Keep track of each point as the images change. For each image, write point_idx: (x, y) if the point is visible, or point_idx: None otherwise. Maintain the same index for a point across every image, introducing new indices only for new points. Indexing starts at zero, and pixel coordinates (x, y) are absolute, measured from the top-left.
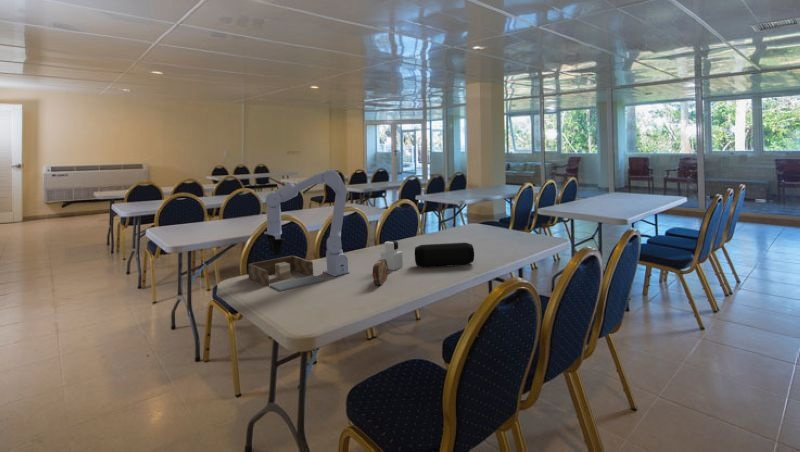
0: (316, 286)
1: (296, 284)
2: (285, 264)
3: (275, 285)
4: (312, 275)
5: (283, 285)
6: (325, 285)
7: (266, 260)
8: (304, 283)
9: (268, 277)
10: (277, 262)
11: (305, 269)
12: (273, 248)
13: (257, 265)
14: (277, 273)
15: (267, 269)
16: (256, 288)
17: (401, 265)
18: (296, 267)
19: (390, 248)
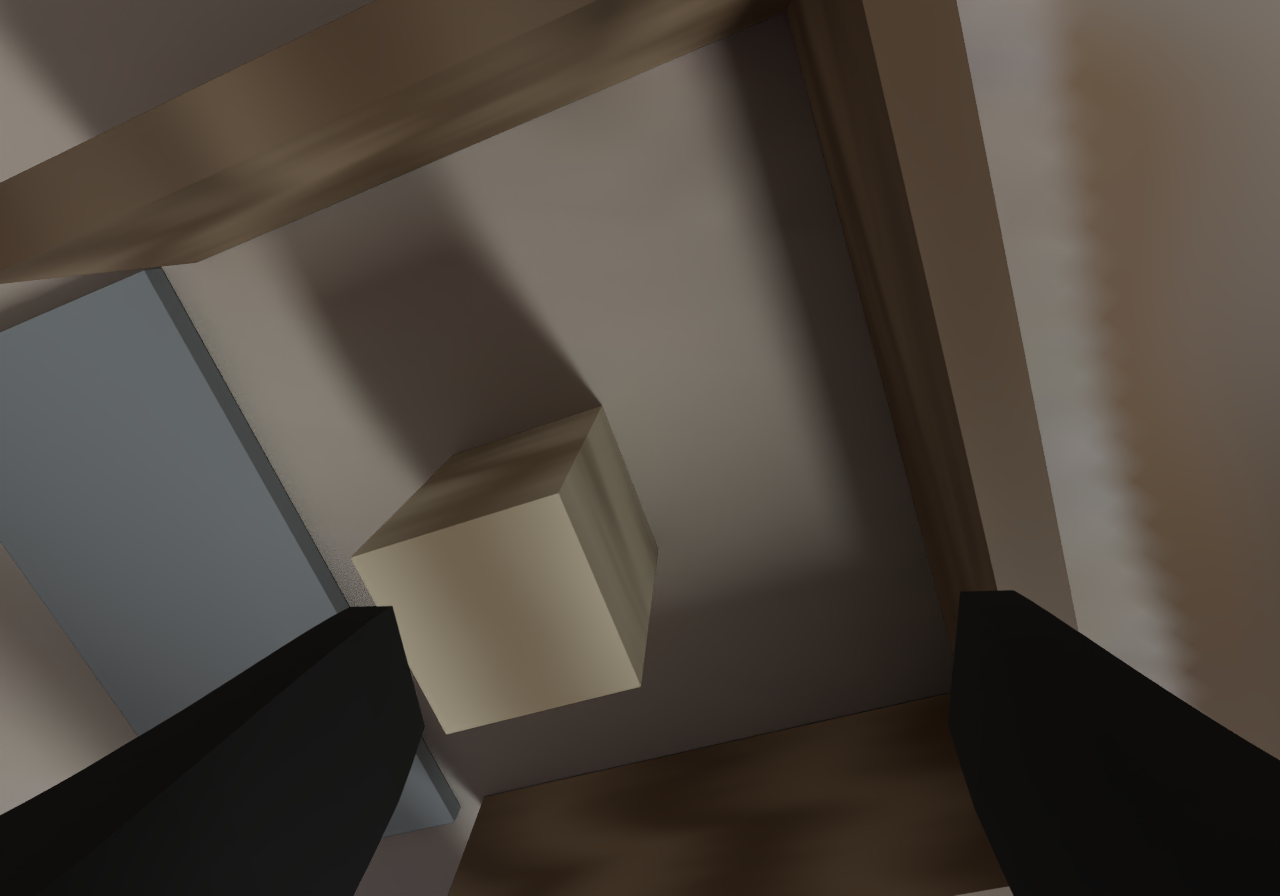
0: (58, 754)
1: (93, 596)
2: (426, 663)
3: (98, 347)
4: (436, 819)
5: (81, 447)
6: None
7: (1014, 353)
8: (118, 679)
9: (84, 273)
10: (970, 558)
11: (590, 825)
12: (107, 768)
13: (862, 93)
14: (521, 453)
15: (884, 319)
16: (99, 52)
17: None
18: (855, 752)
19: None
